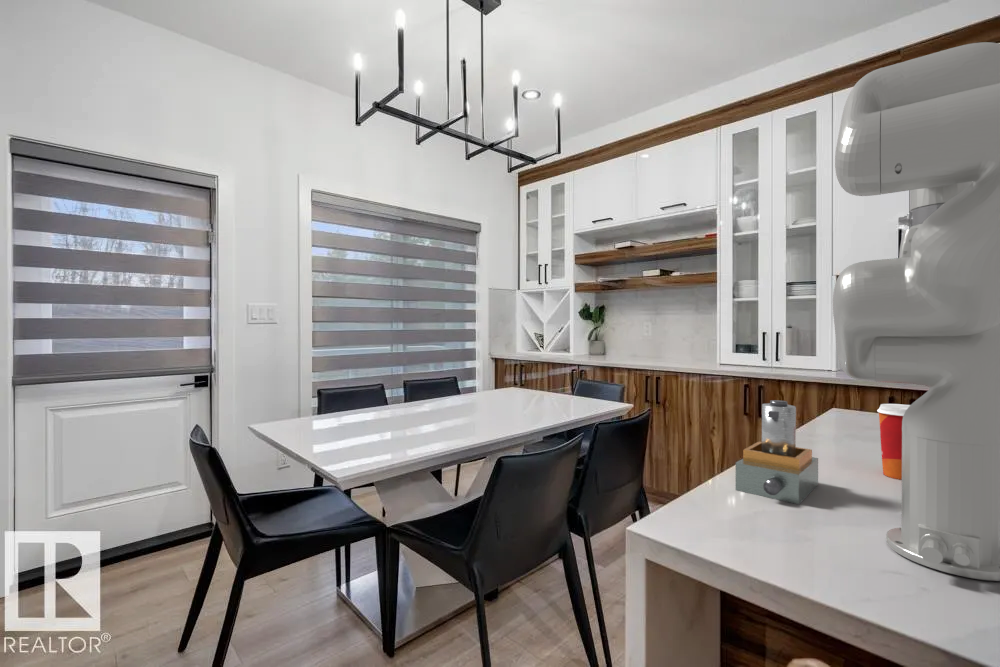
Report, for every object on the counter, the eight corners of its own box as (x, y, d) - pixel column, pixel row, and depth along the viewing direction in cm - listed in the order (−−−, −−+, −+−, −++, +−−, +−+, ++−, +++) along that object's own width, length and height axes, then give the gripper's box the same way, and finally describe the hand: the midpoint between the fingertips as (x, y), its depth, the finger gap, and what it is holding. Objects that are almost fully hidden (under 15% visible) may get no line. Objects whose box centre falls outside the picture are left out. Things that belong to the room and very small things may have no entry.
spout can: (789, 466, 83) (789, 405, 82) (755, 460, 86) (756, 402, 86) (798, 459, 87) (799, 401, 87) (766, 453, 91) (767, 398, 91)
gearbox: (794, 508, 77) (794, 465, 77) (730, 493, 84) (730, 454, 84) (818, 484, 89) (818, 447, 89) (760, 472, 96) (760, 438, 96)
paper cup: (907, 471, 97) (907, 403, 97) (938, 483, 89) (938, 409, 89) (866, 470, 97) (867, 402, 97) (893, 482, 90) (894, 409, 90)
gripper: (869, 224, 81) (869, 323, 81) (1019, 205, 68) (1018, 322, 69) (876, 230, 86) (875, 324, 86) (1016, 213, 74) (1015, 323, 74)
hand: (939, 323), depth 77 cm, fingers open, 9 cm apart
